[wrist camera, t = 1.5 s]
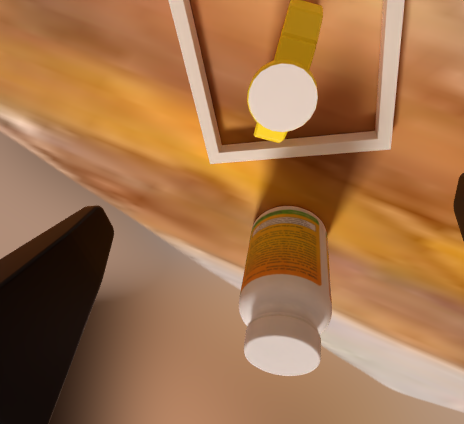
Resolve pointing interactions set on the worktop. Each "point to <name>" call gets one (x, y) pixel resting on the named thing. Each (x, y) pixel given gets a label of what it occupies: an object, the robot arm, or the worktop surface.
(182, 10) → the white square frame
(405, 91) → the worktop surface
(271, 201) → the worktop surface
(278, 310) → the supplement bottle
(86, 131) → the worktop surface
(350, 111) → the worktop surface
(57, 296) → the robot arm
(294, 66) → the watch
